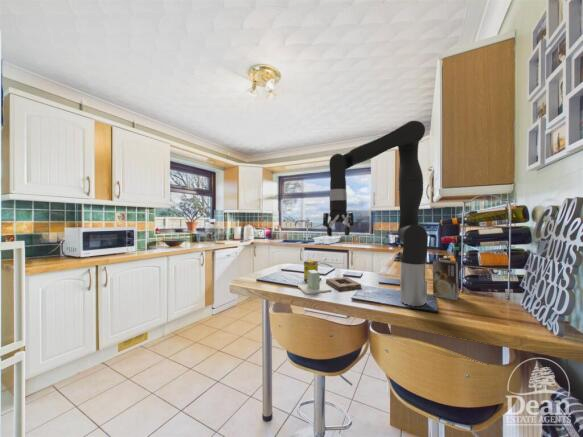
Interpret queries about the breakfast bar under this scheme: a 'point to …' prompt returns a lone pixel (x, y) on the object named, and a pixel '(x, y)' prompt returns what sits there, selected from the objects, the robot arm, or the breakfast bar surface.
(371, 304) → the breakfast bar surface
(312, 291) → the tile mat
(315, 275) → the sage block
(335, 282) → the frame
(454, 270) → the coffee box
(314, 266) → the supplement box
